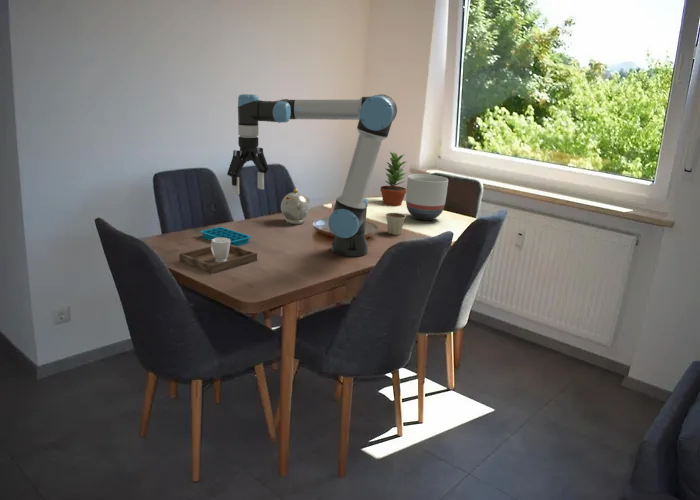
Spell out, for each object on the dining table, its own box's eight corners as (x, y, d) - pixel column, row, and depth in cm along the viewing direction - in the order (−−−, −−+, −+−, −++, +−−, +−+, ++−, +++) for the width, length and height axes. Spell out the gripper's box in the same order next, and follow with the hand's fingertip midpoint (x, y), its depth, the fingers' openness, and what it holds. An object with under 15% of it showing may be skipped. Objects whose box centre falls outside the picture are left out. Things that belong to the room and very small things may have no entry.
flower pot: (393, 237, 271) (395, 218, 269) (379, 231, 278) (381, 213, 275) (408, 234, 277) (410, 216, 274) (394, 229, 284) (396, 211, 281)
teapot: (296, 228, 274) (297, 193, 269) (273, 222, 281) (274, 188, 276) (319, 221, 289) (321, 188, 284) (297, 216, 296) (298, 183, 291)
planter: (403, 212, 317) (406, 172, 311) (441, 215, 317) (446, 175, 310) (404, 222, 298) (408, 180, 291) (445, 225, 297) (450, 183, 291)
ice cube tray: (220, 233, 260) (220, 226, 259) (252, 243, 249) (252, 236, 248) (198, 238, 251) (198, 231, 250) (231, 249, 240) (231, 242, 239)
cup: (218, 265, 218) (218, 243, 216) (203, 257, 225) (203, 237, 222) (234, 261, 223) (234, 240, 221) (219, 254, 230) (219, 234, 227)
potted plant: (411, 205, 334) (416, 152, 325) (388, 207, 327) (393, 152, 318) (396, 199, 346) (400, 148, 337) (374, 201, 339) (378, 148, 330)
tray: (257, 260, 227) (257, 253, 226) (211, 274, 210) (211, 266, 209) (225, 249, 237) (225, 242, 237) (179, 261, 221) (179, 253, 220)
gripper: (263, 133, 238) (263, 185, 245) (216, 137, 219) (218, 194, 225) (277, 135, 234) (277, 188, 241) (231, 139, 215) (232, 197, 221)
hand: (248, 191), depth 233 cm, fingers open, 13 cm apart
